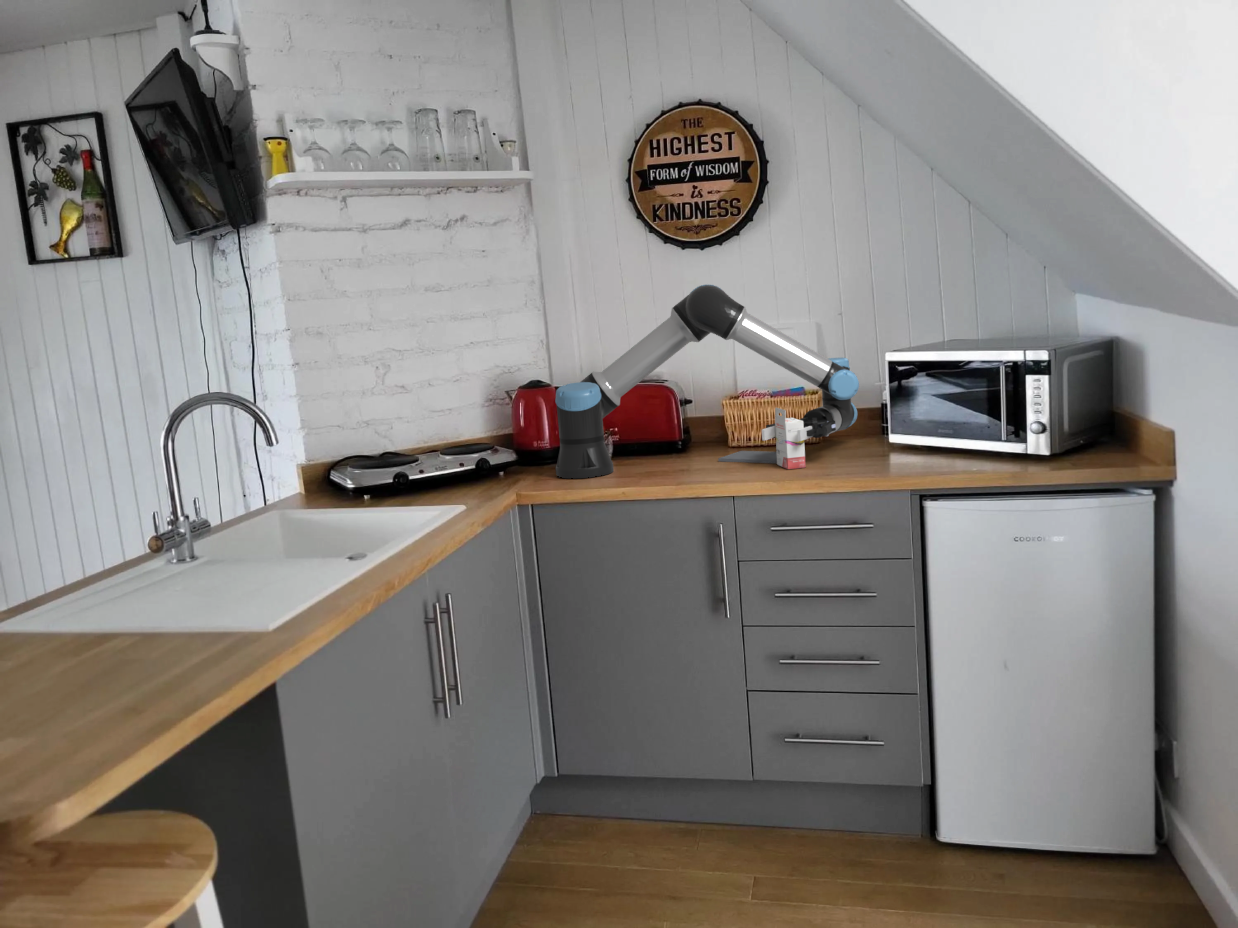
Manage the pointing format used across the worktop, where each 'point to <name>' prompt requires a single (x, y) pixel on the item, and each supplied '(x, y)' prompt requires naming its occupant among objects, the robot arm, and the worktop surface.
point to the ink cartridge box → (788, 441)
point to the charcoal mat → (751, 457)
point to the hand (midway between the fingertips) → (780, 435)
